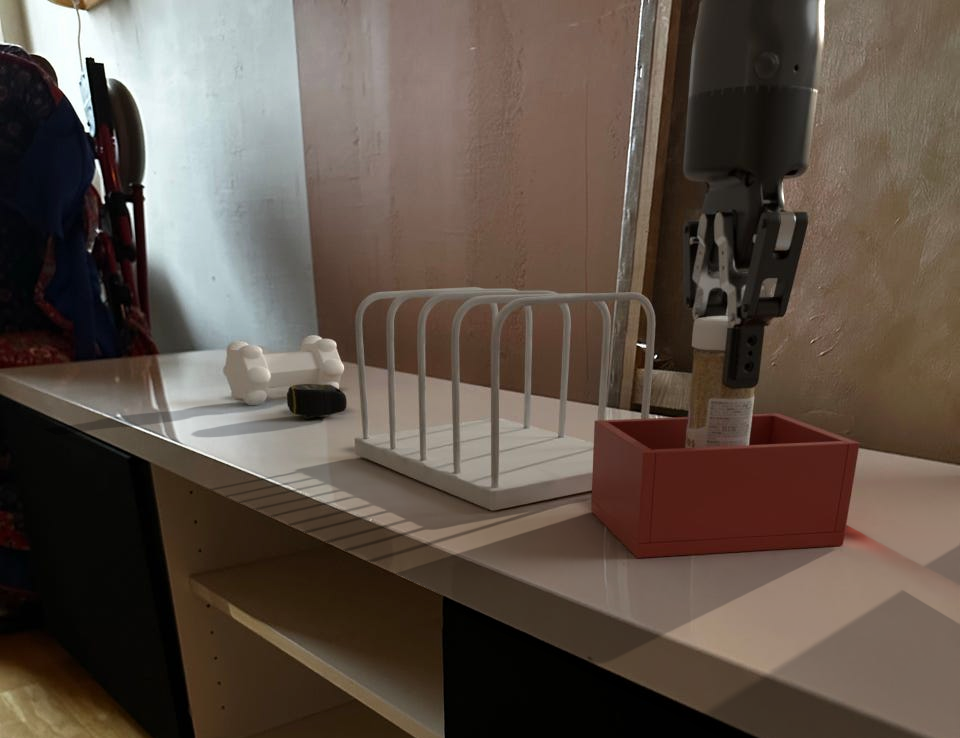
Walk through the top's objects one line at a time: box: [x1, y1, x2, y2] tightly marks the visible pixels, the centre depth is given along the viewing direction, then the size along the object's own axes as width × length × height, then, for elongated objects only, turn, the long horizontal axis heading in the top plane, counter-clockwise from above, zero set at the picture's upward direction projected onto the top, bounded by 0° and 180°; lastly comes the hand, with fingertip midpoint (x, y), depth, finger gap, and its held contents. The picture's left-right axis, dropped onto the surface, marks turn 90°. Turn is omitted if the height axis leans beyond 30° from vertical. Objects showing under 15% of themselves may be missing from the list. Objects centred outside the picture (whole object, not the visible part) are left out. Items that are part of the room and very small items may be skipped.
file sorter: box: [354, 286, 656, 511], centre depth 78 cm, size 25×17×16 cm
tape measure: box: [286, 384, 348, 420], centre depth 108 cm, size 7×7×4 cm
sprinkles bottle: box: [685, 316, 756, 448], centre depth 60 cm, size 5×5×13 cm
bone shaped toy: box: [222, 334, 345, 406], centre depth 121 cm, size 15×9×8 cm, turn 132°
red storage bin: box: [590, 412, 861, 559], centre depth 62 cm, size 15×12×7 cm
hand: (723, 381), depth 59 cm, fingers closed on sprinkles bottle, 4 cm apart
